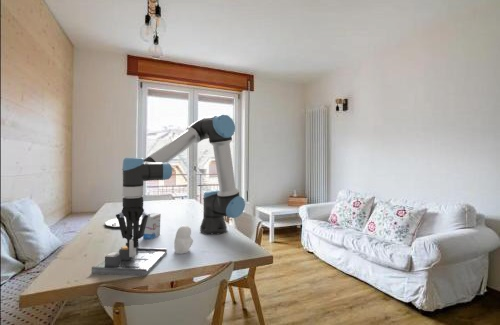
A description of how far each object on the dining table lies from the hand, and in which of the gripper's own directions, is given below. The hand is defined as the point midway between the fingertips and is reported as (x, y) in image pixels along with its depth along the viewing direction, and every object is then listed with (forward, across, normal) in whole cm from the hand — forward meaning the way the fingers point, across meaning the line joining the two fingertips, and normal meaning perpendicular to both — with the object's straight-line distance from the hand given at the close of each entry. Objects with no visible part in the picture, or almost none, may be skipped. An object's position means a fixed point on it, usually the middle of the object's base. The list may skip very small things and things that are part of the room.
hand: (132, 255), depth 106 cm
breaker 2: (+2, +3, 0) cm, 3 cm away
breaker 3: (+2, +4, -8) cm, 9 cm away
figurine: (+3, -16, -14) cm, 22 cm away
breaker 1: (+2, +4, +7) cm, 9 cm away
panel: (+3, 0, 0) cm, 3 cm away
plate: (+3, +31, -57) cm, 65 cm away
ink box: (+3, +6, -33) cm, 34 cm away
